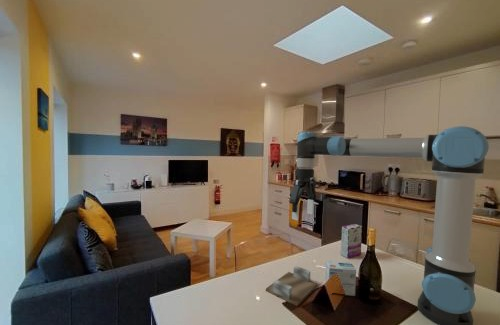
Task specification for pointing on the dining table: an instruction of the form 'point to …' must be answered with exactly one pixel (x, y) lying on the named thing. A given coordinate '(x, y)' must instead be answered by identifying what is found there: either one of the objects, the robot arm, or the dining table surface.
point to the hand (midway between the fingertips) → (302, 216)
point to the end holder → (293, 286)
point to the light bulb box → (343, 275)
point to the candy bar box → (351, 240)
